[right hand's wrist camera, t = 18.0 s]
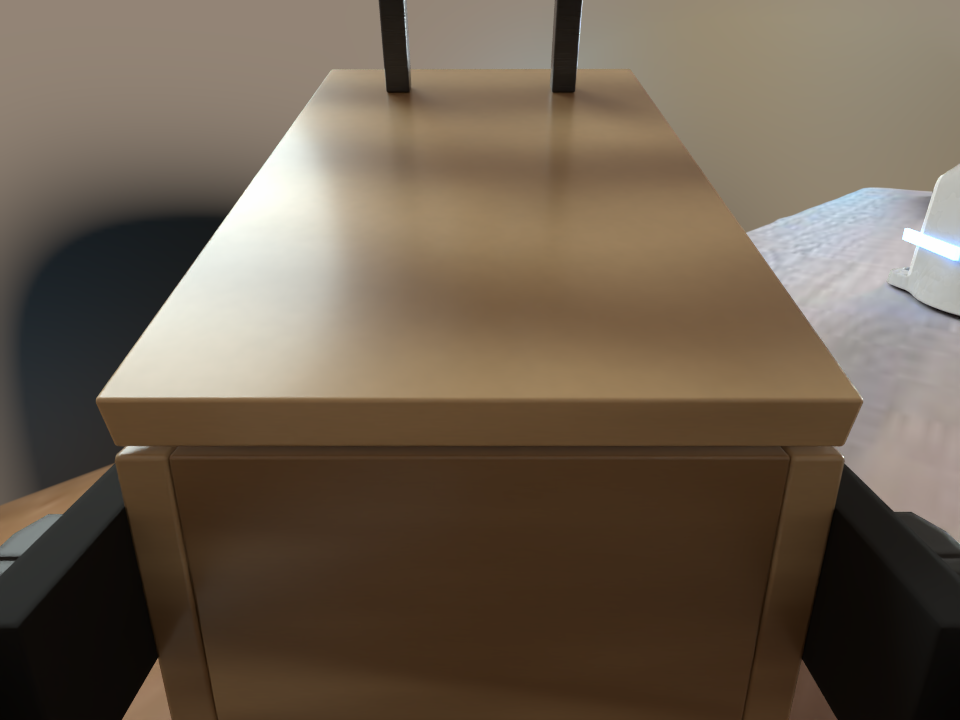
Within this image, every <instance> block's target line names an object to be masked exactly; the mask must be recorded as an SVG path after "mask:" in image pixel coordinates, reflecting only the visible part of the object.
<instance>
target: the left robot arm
mask: <svg viewBox="0 0 960 720" xmlns="http://www.w3.org/2000/svg"><path fill="white" fill-rule="evenodd" d="M903 240H906V241H908V242H911V243H913V244H915V245H917V246H916V249H915V252H914V256H913V259H912V262H911V265H910V267H904V268H897V269H892V270H891V271H890V273H889V276H888V279H887V283H889V284H891V285H893V286H896V287H899V288H901V289H904V290H907V291H908V292H910V293H911V294H912V295H913V296H914V297H915V298H916V299H918V300H919V301H921V302H923V303H925V304H927V305H929V306H932V307H934V308H937V309H940V310H943V311H946V312H949V313H952V314H955V315H959V316H960V164H959V165H957V166H956V167H954V168H953V169H951V170H949V171H947V172H946V173H945V174H943V175H941V176H940V177H939V178H938V180H937V182H936V184H935V187H934V190H933V192H932V197H931V200H930V203H929V206H928V210H927V213H926V216H925V219H924V223H923V226H922V229H921V232H917V231H914V230H912V229H906V228H905V230H904V235H903Z"/></svg>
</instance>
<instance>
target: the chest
mask: <svg viewBox="0 0 960 720" xmlns="http://www.w3.org/2000/svg"><path fill="white" fill-rule="evenodd" d="M844 462H845V460H844V456H843V455H842V454H841V453H840V452H839V451H838V450H837V449H836V448H835V447H834V446H125V447H124V448H123V449H122V450H121V451H120V452H119V453H118V454H117V455H116V457H115V464H116V468H117V473H118V478H119V482H120V487H121V491H122V496H123V500H124V505H125V509H126V514H127V518H128V523H129V527H130V532H131V537H132V541H133V546H134V550H135V555H136V559H137V564H138V569H139V573H140V578H141V582H142V587H143V591H144V596H145V600H146V605H147V609H148V614H149V619H150V623H151V628H152V632H153V637H154V641H155V646H156V650H157V655H158V659H159V664H160V669H161V673H162V678H163V682H164V687H165V691H166V696H167V700H168V705H169V709H170V714H171V719H172V720H789V715H790V711H791V706H792V702H793V697H794V692H795V688H796V683H797V678H798V674H799V669H800V665H801V660H802V655H803V651H804V646H805V642H806V637H807V632H808V628H809V623H810V619H811V614H812V609H813V605H814V600H815V596H816V591H817V586H818V582H819V577H820V572H821V568H822V563H823V559H824V554H825V549H826V545H827V540H828V536H829V531H830V526H831V522H832V517H833V513H834V508H835V503H836V499H837V494H838V490H839V485H840V480H841V476H842V471H843V466H844Z"/></svg>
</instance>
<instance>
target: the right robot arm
mask: <svg viewBox="0 0 960 720" xmlns="http://www.w3.org/2000/svg"><path fill="white" fill-rule="evenodd" d="M157 658H158V655H157V650H156V646H155V641H154V637H153V632H152V628H151V623H150V619H149V614H148V609H147V605H146V600H145V596H144V591H143V587H142V582H141V578H140V573H139V569H138V564H137V559H136V555H135V550H134V546H133V541H132V537H131V532H130V527H129V523H128V518H127V514H126V509H125V505H124V500H123V496H122V491H121V487H120V482H119V478H118V473H117V468H116V464H114V465H113V466H112V467H111V468H110V469H109V470H108V471H107V472H106V473H105V474H104V475H103V476H102V477H101V478H100V479H99V480H98V481H97V482H95V483H94V484H93V485H92V486H91V487H90V488H89V489H88V490H87V491H86V492H85V493H84V494H83V495H82V496H81V497H80V498H79V499H78V500H77V501H76V502H75V503H74V504H73V505H72V506H71V507H70V508H69V509H68V510H67V511H66V512H65V513H64V514H48V515H46V516H45V517H43V518H41V519H39V520H38V521H36V522H34V523H32V524H30V525H29V526H27V527H25V528H23V529H22V530H20V531H18V532H16V533H15V534H13V535H12V536H11V537H10V538H9V539H8V540H7V541H6V542H5V543H4V544H2V545H1V546H0V720H122V718H123V717H124V715H125V713H126V712H127V710H128V708H129V706H130V705H131V703H132V701H133V700H134V698H135V696H136V694H137V693H138V691H139V689H140V688H141V686H142V684H143V682H144V681H145V679H146V677H147V676H148V674H149V672H150V670H151V669H152V667H153V665H154V664H155V662H156V660H157ZM802 660H803V661H804V663H805V665H806V666H807V668H808V670H809V672H810V673H811V675H812V677H813V678H814V680H815V682H816V684H817V685H818V687H819V689H820V690H821V692H822V694H823V696H824V697H825V699H826V701H827V702H828V704H829V706H830V708H831V709H832V711H833V713H834V714H835V716H836V718H837V720H960V544H959V543H958V542H957V541H956V540H955V539H954V538H952V537H951V536H950V535H949V534H948V533H947V532H946V531H944V530H942V529H941V528H939V527H937V526H935V525H934V524H932V523H930V522H928V521H926V520H925V519H923V518H921V517H919V516H918V515H916V514H914V513H912V512H893V511H892V510H891V509H890V508H889V507H888V506H887V505H886V504H885V503H884V502H883V501H882V500H881V499H880V498H879V497H878V496H877V495H876V494H875V493H874V492H873V491H872V490H871V489H870V488H869V487H868V486H867V485H866V484H865V483H864V482H863V481H862V480H861V479H860V478H859V477H858V476H857V475H856V474H855V473H854V472H853V471H852V470H851V469H850V468H849V467H847V466H846V465H845V464H844V466H843V471H842V476H841V480H840V485H839V490H838V494H837V499H836V503H835V508H834V513H833V517H832V522H831V526H830V531H829V536H828V540H827V545H826V549H825V554H824V559H823V563H822V568H821V572H820V577H819V582H818V586H817V591H816V596H815V600H814V605H813V609H812V614H811V619H810V623H809V628H808V632H807V637H806V642H805V646H804V651H803V655H802Z"/></svg>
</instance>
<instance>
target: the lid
mask: <svg viewBox="0 0 960 720" xmlns="http://www.w3.org/2000/svg"><path fill="white" fill-rule="evenodd" d="M379 9H380V21H381V33H382V45H383V58H384V69H333V70H331V71H330V73H329V74H328V76H327V77H326V78H325V80H324V81H323V83H322V84H321V85H320V87H319V88H318V89H317V91H316V92H315V94H314V95H313V97H312V98H311V99H310V101H309V102H308V103H307V105H306V106H305V108H304V109H303V111H302V112H301V113H300V115H299V116H298V117H297V119H296V120H295V122H294V123H293V125H292V126H291V127H290V129H289V130H288V131H287V133H286V134H285V136H284V137H283V138H282V140H281V141H280V143H279V144H278V145H277V147H276V148H275V150H274V151H273V152H272V154H271V155H270V157H269V158H268V159H267V161H266V162H265V164H264V165H263V166H262V168H261V169H260V171H259V172H258V173H257V175H256V176H255V178H254V179H253V180H252V182H251V183H250V185H249V186H248V187H247V189H246V190H245V192H244V193H243V194H242V196H241V197H240V198H239V200H238V201H237V203H236V204H235V205H234V207H233V208H232V210H231V211H230V212H229V214H228V215H227V217H226V218H225V219H224V221H223V222H222V224H221V225H220V226H219V228H218V229H217V231H216V232H215V233H214V235H213V236H212V238H211V239H210V240H209V242H208V243H207V245H206V246H205V247H204V249H203V250H202V252H201V253H200V254H199V256H198V257H197V258H196V260H195V261H194V263H193V264H192V265H191V267H190V268H189V270H188V271H187V272H186V274H185V275H184V277H183V278H182V280H181V281H180V282H179V284H178V285H177V286H176V288H175V289H174V291H173V292H172V293H171V295H170V296H169V298H168V299H167V300H166V302H165V303H164V305H163V306H162V307H161V309H160V310H159V312H158V313H157V314H156V316H155V317H154V319H153V320H152V321H151V323H150V324H149V326H148V327H147V328H146V330H145V331H144V333H143V334H142V335H141V337H140V338H139V340H138V341H137V342H136V344H135V345H134V347H133V348H132V349H131V351H130V352H129V353H128V355H127V356H126V358H125V359H124V360H123V362H122V363H121V365H120V366H119V368H118V369H117V370H116V372H115V373H114V374H113V376H112V377H111V379H110V380H109V381H108V383H107V384H106V386H105V387H104V388H103V390H102V391H101V393H100V394H99V395H98V397H97V398H96V403H97V406H98V408H99V410H100V412H101V415H102V417H103V419H104V421H105V423H106V426H107V428H108V430H109V432H110V434H111V436H112V439H113V441H114V443H115V444H116V445H117V446H843V445H844V444H845V442H846V439H847V437H848V435H849V433H850V431H851V428H852V426H853V424H854V422H855V419H856V417H857V415H858V413H859V411H860V408H861V406H862V404H863V398H862V397H861V395H860V394H859V393H858V391H857V390H856V388H855V387H854V385H853V384H852V383H851V381H850V380H849V378H848V377H847V376H846V374H845V373H844V371H843V370H842V368H841V367H840V366H839V364H838V363H837V361H836V360H835V359H834V357H833V356H832V354H831V353H830V351H829V350H828V349H827V347H826V346H825V344H824V343H823V342H822V340H821V339H820V337H819V336H818V334H817V333H816V332H815V330H814V329H813V327H812V326H811V325H810V323H809V322H808V320H807V319H806V317H805V316H804V315H803V313H802V312H801V310H800V309H799V308H798V306H797V305H796V303H795V302H794V300H793V299H792V298H791V296H790V295H789V293H788V292H787V291H786V289H785V288H784V286H783V285H782V283H781V282H780V281H779V279H778V278H777V276H776V275H775V274H774V272H773V271H772V269H771V268H770V266H769V265H768V264H767V262H766V261H765V259H764V258H763V257H762V255H761V254H760V252H759V251H758V249H757V248H756V247H755V245H754V244H753V242H752V241H751V240H750V238H749V237H748V235H747V234H746V232H745V231H744V230H743V228H742V227H741V225H740V224H739V223H738V221H737V220H736V218H735V217H734V215H733V214H732V213H731V211H730V210H729V208H728V207H727V206H726V204H725V203H724V201H723V200H722V199H721V197H720V196H719V194H718V193H717V191H716V190H715V189H714V187H713V186H712V184H711V183H710V182H709V180H708V179H707V177H706V176H705V174H704V173H703V172H702V170H701V169H700V167H699V166H698V165H697V163H696V162H695V160H694V159H693V158H692V156H691V155H690V153H689V152H688V150H687V149H686V148H685V146H684V145H683V143H682V142H681V140H680V139H679V138H678V136H677V135H676V133H675V132H674V131H673V129H672V128H671V126H670V125H669V123H668V122H667V121H666V119H665V118H664V116H663V115H662V114H661V112H660V111H659V109H658V108H657V106H656V105H655V104H654V102H653V101H652V99H651V98H650V97H649V95H648V94H647V92H646V91H645V89H644V88H643V87H642V85H641V84H640V82H639V81H638V80H637V78H636V77H635V75H634V74H633V72H632V71H631V70H630V69H577V63H578V50H579V38H580V25H581V13H582V0H555V8H554V25H553V42H552V60H551V69H410V53H409V36H408V20H407V3H406V0H379Z"/></svg>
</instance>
